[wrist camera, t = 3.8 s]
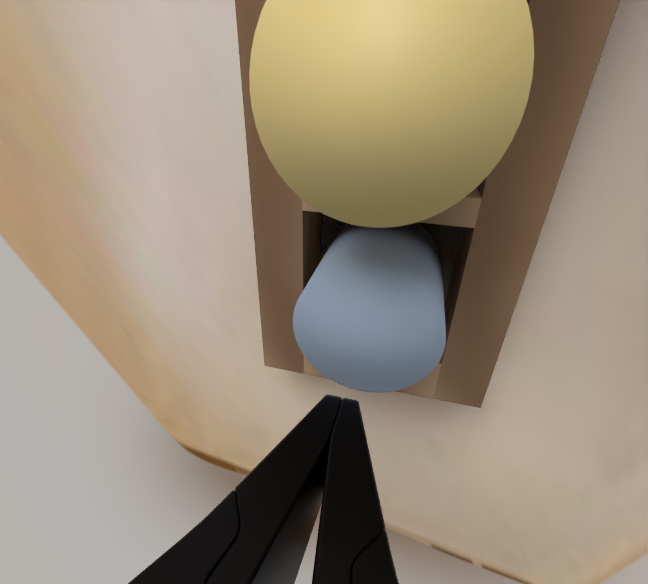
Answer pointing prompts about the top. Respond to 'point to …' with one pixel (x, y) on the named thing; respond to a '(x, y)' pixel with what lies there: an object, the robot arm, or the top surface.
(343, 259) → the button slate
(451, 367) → the wooden compartment tray
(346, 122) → the button ochre
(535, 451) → the top surface
